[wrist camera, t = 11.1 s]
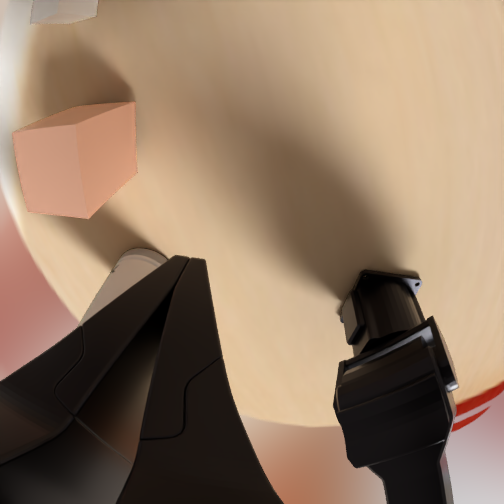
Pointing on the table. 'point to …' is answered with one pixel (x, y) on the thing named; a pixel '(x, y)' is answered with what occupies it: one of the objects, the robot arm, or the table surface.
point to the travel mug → (124, 277)
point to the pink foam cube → (76, 158)
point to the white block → (62, 11)
